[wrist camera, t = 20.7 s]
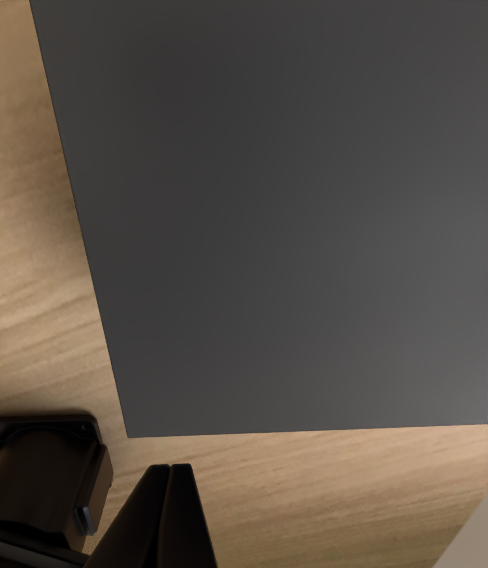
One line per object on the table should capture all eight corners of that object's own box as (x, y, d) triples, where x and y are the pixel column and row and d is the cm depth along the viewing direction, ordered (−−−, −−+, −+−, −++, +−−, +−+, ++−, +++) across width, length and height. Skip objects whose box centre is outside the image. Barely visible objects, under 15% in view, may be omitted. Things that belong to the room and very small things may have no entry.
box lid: (131, 421, 16) (127, 439, 15) (35, -30, 9) (20, -35, 8) (486, 407, 16) (497, 424, 15) (654, -39, 9) (689, -45, 9)
